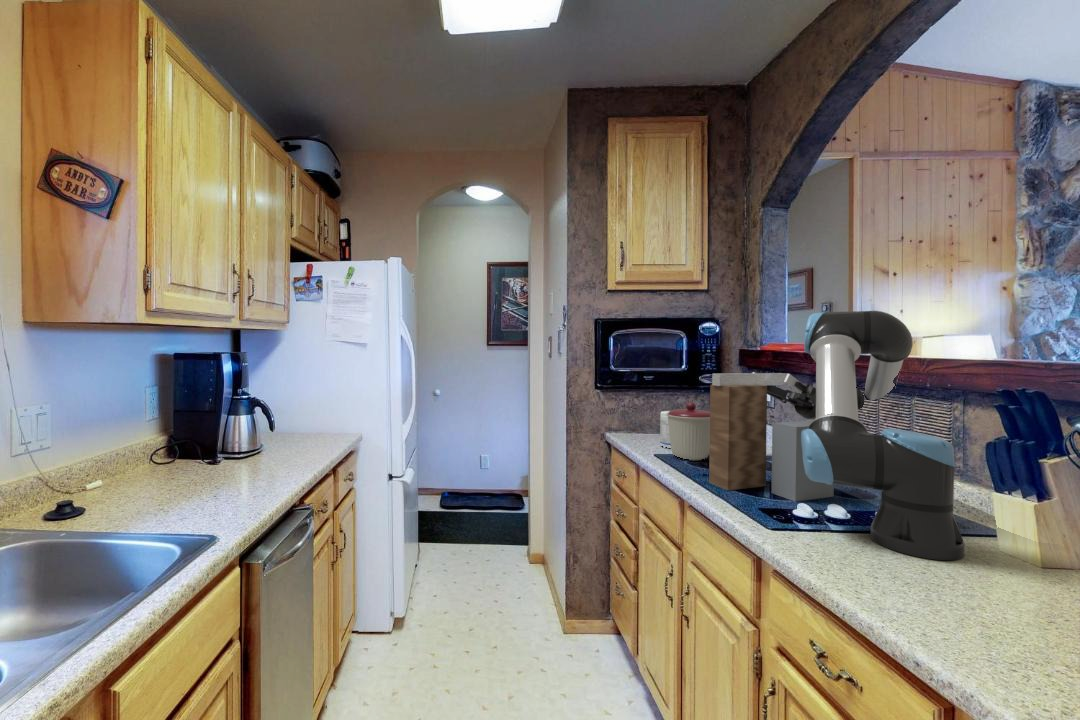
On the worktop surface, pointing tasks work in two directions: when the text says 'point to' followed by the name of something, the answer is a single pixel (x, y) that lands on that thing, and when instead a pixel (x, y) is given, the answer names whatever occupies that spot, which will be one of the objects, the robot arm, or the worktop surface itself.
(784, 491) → the gray rectangular block
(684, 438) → the canister
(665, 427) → the supplement tub
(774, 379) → the steel lever bar
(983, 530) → the worktop surface
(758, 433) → the walnut column
